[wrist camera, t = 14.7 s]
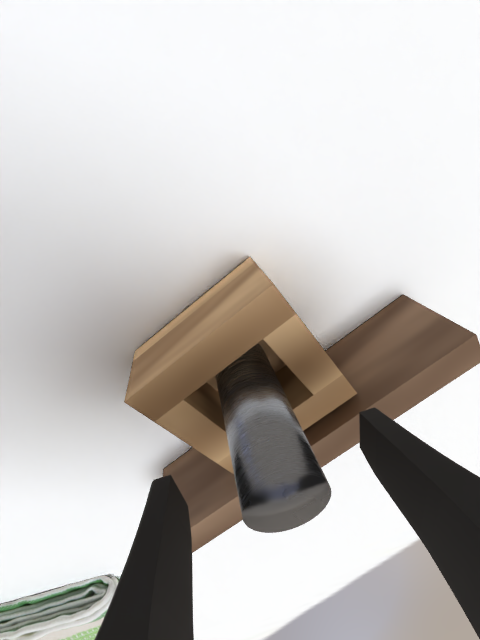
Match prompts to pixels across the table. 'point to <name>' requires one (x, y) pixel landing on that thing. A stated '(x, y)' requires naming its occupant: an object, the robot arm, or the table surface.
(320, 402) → the block
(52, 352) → the table surface
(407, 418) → the table surface
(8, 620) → the dish towel
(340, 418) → the wooden plank
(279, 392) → the dowel
